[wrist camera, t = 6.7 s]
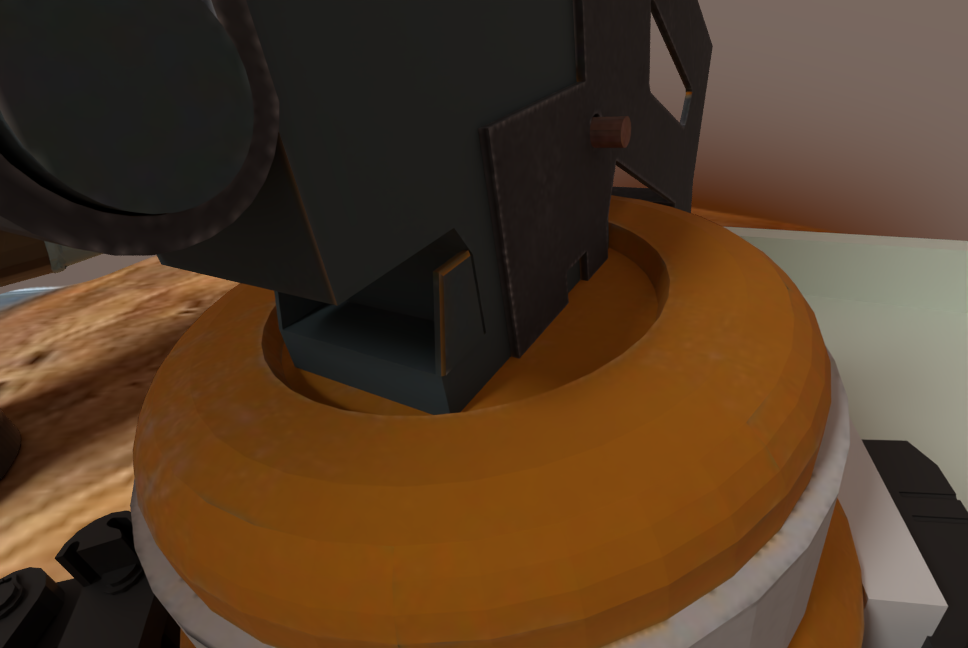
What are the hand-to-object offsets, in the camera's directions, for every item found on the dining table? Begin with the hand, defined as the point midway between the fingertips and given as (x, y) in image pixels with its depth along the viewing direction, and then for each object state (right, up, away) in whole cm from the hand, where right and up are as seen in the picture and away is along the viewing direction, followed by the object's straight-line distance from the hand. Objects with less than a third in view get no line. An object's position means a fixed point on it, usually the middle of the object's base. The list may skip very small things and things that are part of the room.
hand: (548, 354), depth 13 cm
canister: (+1, -12, +2) cm, 12 cm away
